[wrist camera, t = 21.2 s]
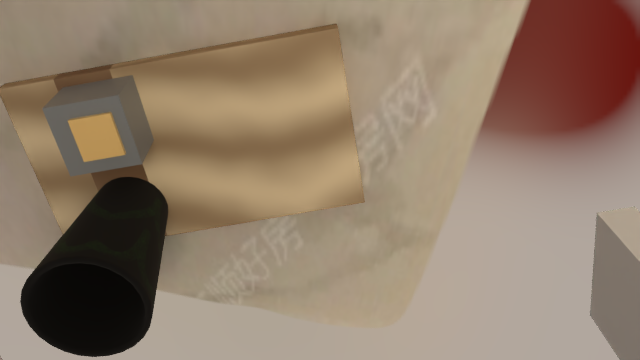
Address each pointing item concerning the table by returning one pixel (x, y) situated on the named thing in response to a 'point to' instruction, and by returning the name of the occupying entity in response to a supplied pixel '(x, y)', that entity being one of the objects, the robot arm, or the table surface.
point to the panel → (217, 131)
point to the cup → (101, 273)
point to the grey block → (99, 125)
